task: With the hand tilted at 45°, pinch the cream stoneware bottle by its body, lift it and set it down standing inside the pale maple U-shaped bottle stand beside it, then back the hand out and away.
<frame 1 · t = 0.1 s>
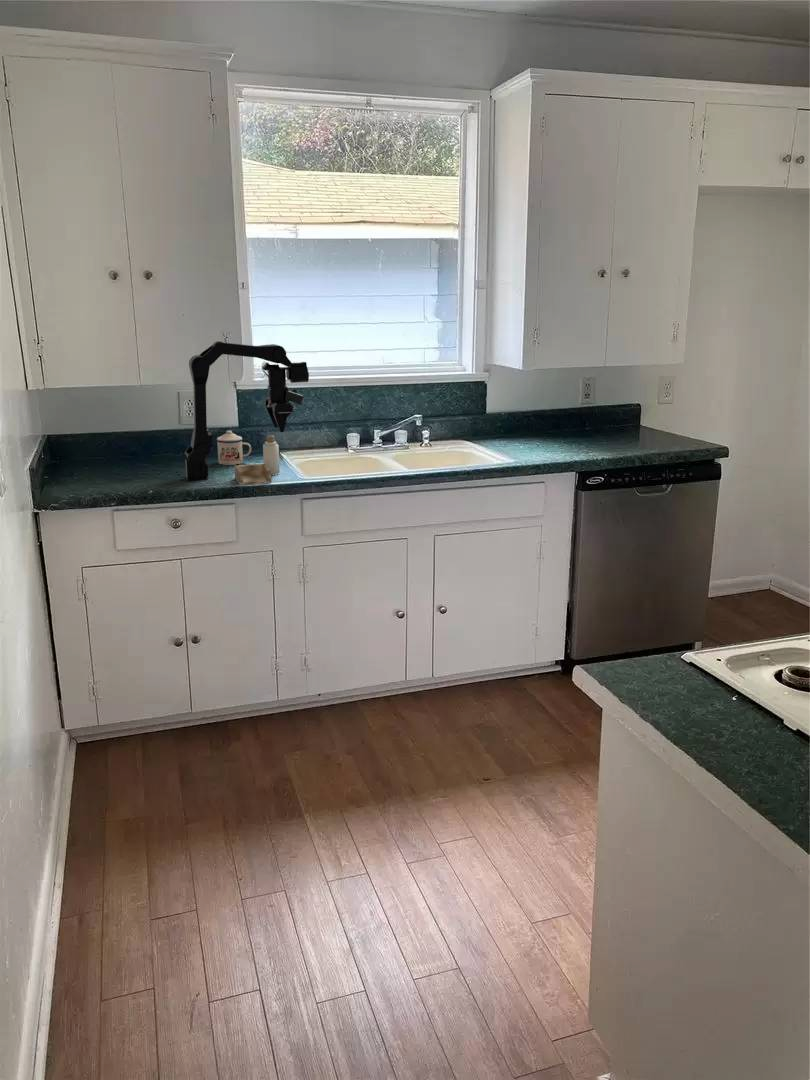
hand: (279, 430, 281), 15 cm above the worktop, tool pointing down, fingers open, 9 cm apart
maple U-rest: (253, 480, 274), on the worktop
stoneware bottle: (271, 473, 284), on the worktop
teacup with lid: (234, 463, 299), on the worktop
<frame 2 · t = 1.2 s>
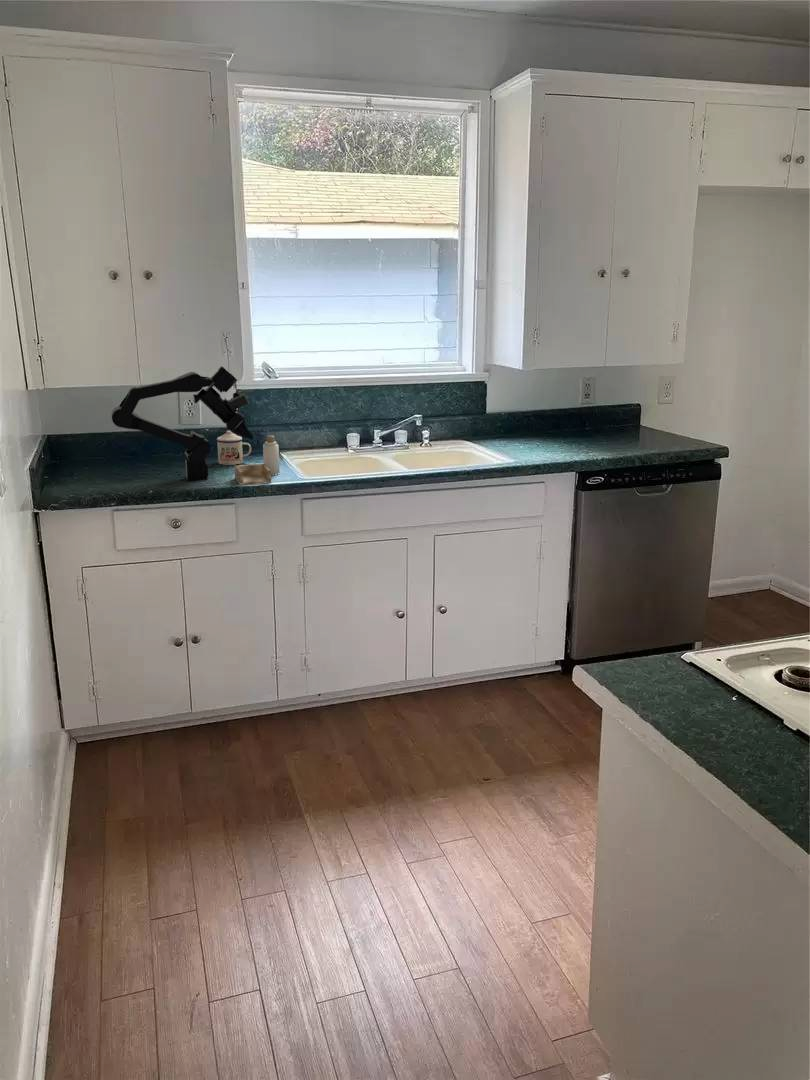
hand: (250, 435, 278), 13 cm above the worktop, tool tilted 45°, fingers open, 9 cm apart
nothing on the worktop moved.
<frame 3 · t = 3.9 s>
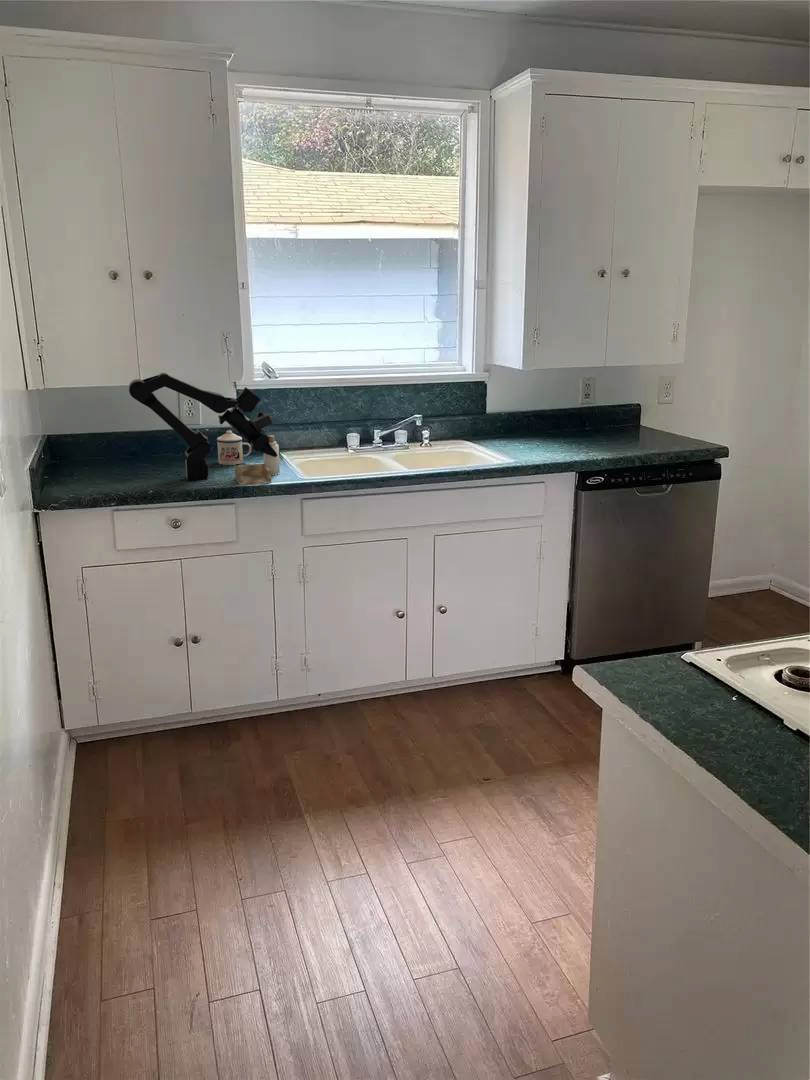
hand: (275, 454, 282), 7 cm above the worktop, tool tilted 45°, fingers closed on stoneware bottle, 5 cm apart
stoneware bottle: (271, 473, 284), on the worktop, touching gripper
everything else where it was.
when the fingers open (9 cm above the worktop, at t = 8.2 s): stoneware bottle drops 1 cm, resting on maple U-rest.
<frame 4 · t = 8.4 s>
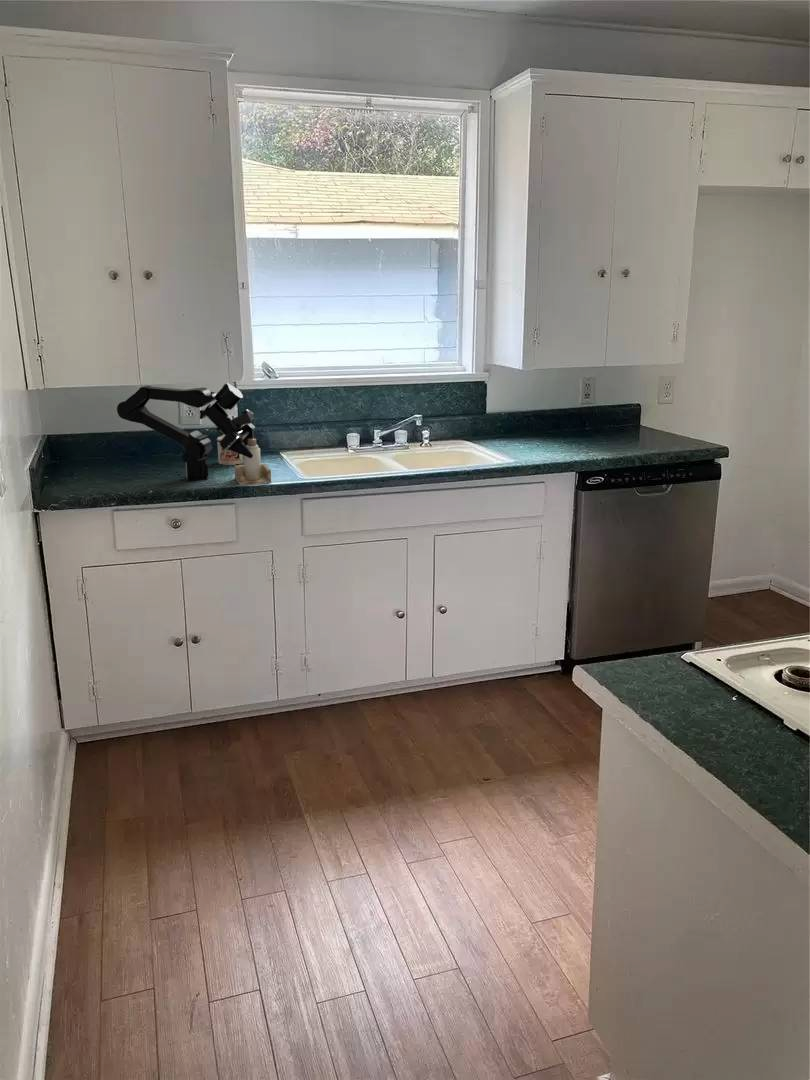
hand: (256, 454, 270), 9 cm above the worktop, tool tilted 45°, fingers open, 8 cm apart
stoneware bottle: (252, 478, 273), point 1 cm above the worktop, touching maple U-rest
everything else where it was.
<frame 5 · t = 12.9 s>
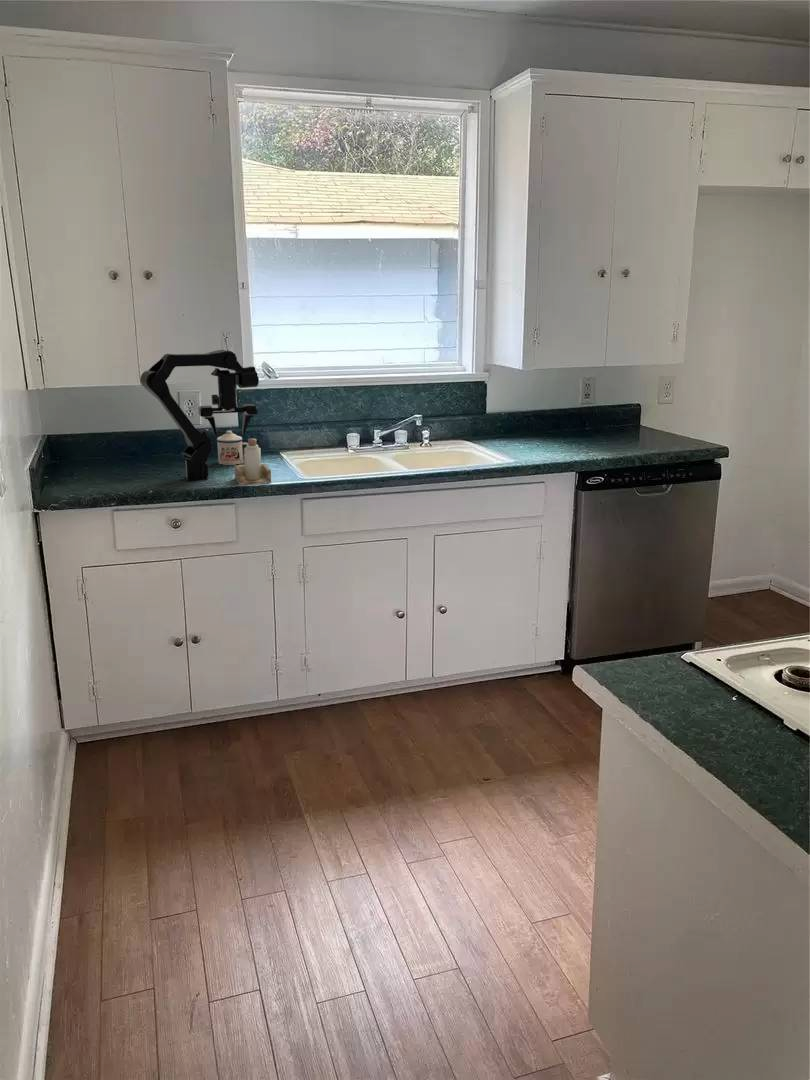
hand: (229, 435, 279), 13 cm above the worktop, tool pointing down, fingers open, 9 cm apart
nothing on the worktop moved.
at the end: stoneware bottle 0.1 cm off-centre on the maple U-rest, point 0.9 cm above the maple U-rest's base; stoneware bottle tilted 2°; the gripper is holding nothing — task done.
